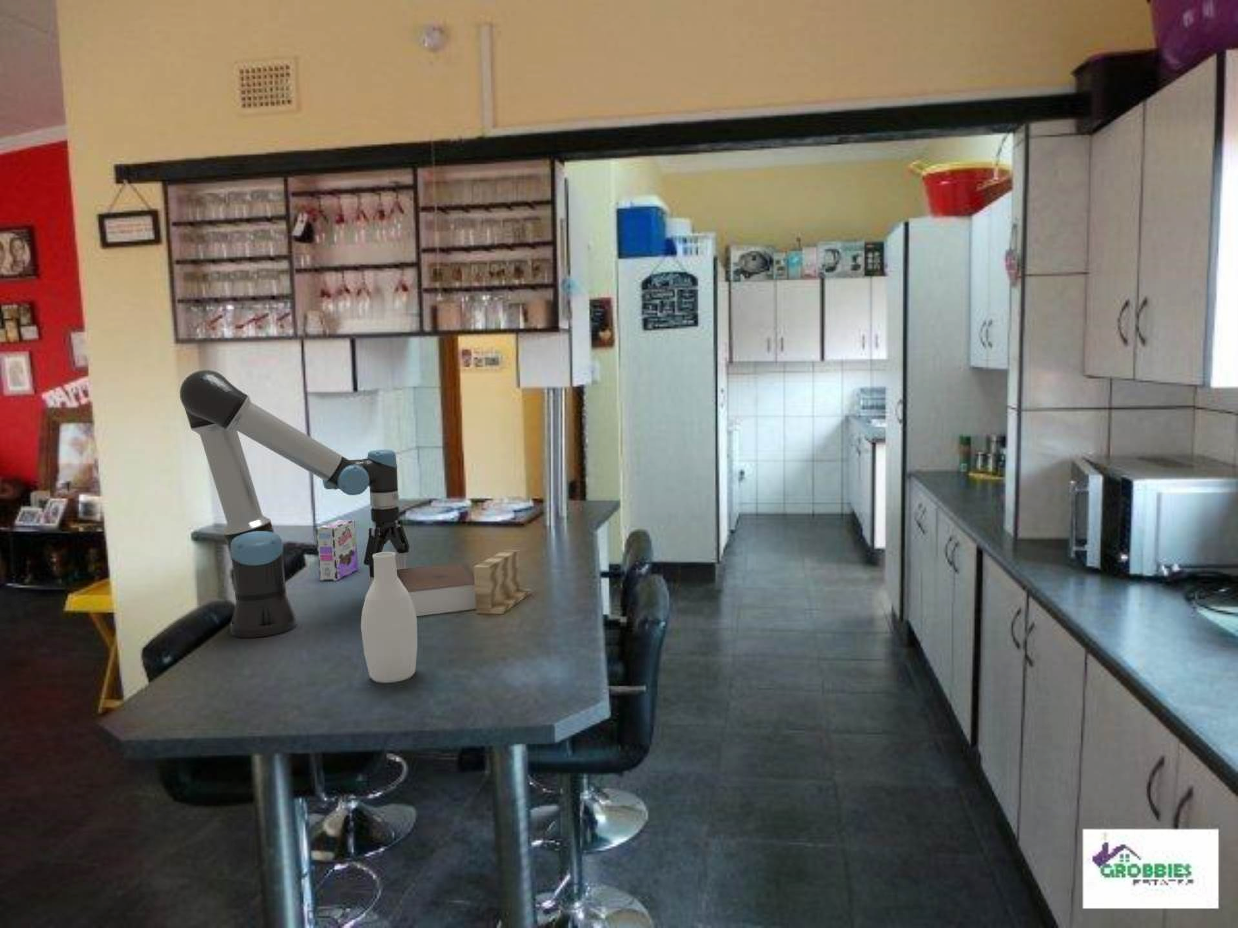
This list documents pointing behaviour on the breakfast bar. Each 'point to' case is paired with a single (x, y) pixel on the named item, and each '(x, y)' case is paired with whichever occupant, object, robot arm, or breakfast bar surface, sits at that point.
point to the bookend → (498, 583)
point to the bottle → (388, 624)
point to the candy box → (337, 550)
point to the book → (440, 588)
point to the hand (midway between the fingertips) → (388, 582)
